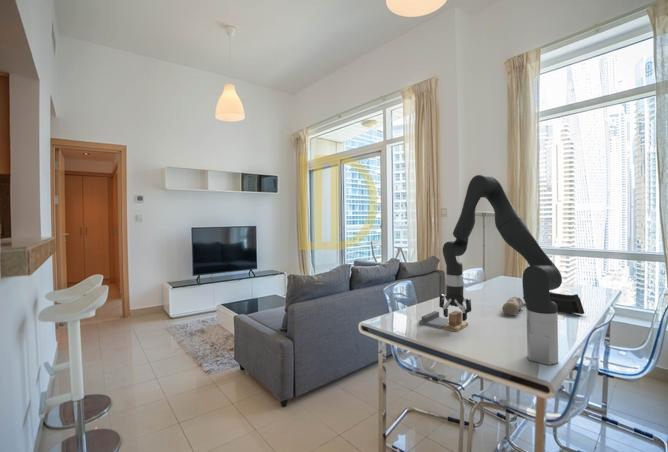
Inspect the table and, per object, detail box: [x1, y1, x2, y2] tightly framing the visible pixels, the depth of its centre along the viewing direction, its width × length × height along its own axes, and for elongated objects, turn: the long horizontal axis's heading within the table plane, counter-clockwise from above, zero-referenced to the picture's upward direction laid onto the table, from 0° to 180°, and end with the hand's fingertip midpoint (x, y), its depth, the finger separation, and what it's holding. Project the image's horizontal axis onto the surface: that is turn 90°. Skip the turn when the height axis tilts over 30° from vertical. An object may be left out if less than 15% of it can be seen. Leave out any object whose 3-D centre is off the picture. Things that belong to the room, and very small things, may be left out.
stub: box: [443, 310, 469, 333], centre depth 149 cm, size 12×7×7 cm, turn 135°
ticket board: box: [418, 310, 449, 330], centre depth 156 cm, size 13×12×4 cm
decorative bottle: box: [501, 296, 524, 316], centre depth 174 cm, size 26×8×7 cm, turn 141°
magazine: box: [522, 291, 585, 315], centre depth 174 cm, size 17×3×30 cm
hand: (455, 318), depth 149 cm, fingers open, 8 cm apart
